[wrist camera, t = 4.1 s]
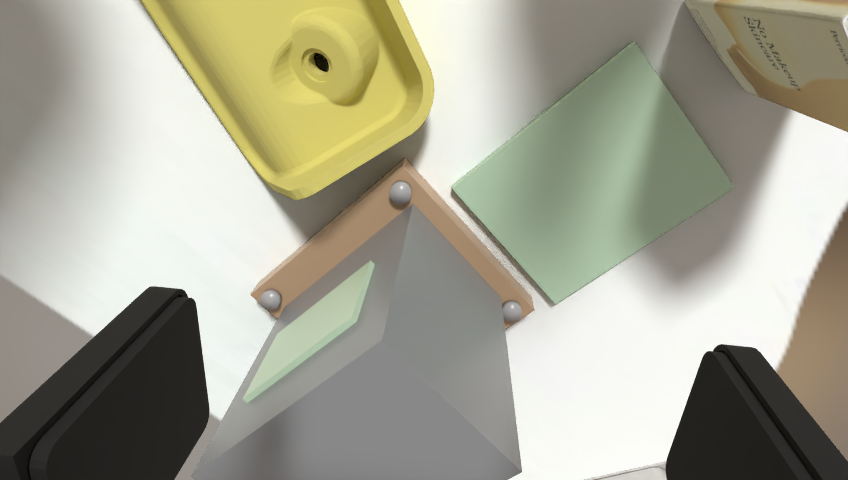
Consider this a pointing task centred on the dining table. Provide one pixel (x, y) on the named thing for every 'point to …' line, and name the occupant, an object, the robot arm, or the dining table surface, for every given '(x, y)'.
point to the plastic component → (303, 80)
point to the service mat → (594, 177)
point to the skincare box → (784, 51)
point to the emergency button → (638, 473)
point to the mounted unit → (380, 352)
